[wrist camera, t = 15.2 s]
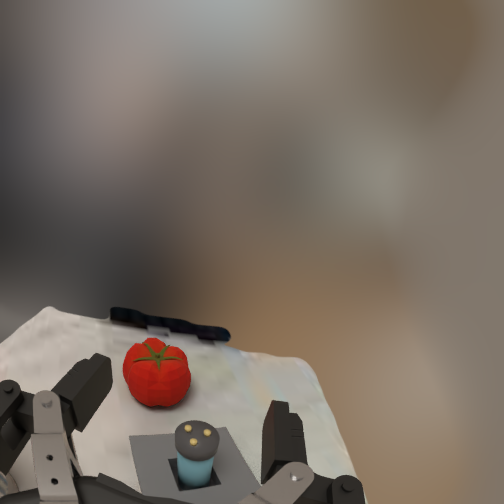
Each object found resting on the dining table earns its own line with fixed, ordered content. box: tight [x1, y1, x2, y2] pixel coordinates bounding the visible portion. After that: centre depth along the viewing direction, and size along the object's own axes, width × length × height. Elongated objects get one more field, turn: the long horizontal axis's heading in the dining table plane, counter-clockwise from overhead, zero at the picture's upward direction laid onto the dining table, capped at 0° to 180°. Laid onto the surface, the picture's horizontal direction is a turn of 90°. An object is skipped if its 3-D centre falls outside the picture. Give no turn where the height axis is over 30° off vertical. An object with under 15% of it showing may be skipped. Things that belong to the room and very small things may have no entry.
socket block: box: [129, 427, 261, 504], centre depth 29 cm, size 16×16×4 cm
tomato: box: [123, 338, 191, 407], centre depth 47 cm, size 14×13×10 cm
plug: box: [175, 420, 220, 491], centre depth 28 cm, size 5×5×14 cm
